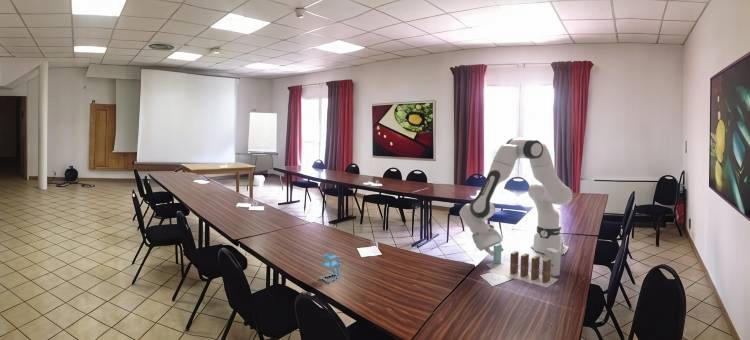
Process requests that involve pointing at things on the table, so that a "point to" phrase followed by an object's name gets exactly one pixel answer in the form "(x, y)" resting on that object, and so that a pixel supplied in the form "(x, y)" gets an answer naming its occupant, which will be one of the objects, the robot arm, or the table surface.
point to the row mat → (506, 272)
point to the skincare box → (553, 260)
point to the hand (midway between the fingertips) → (497, 253)
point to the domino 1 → (497, 254)
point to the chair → (331, 265)
